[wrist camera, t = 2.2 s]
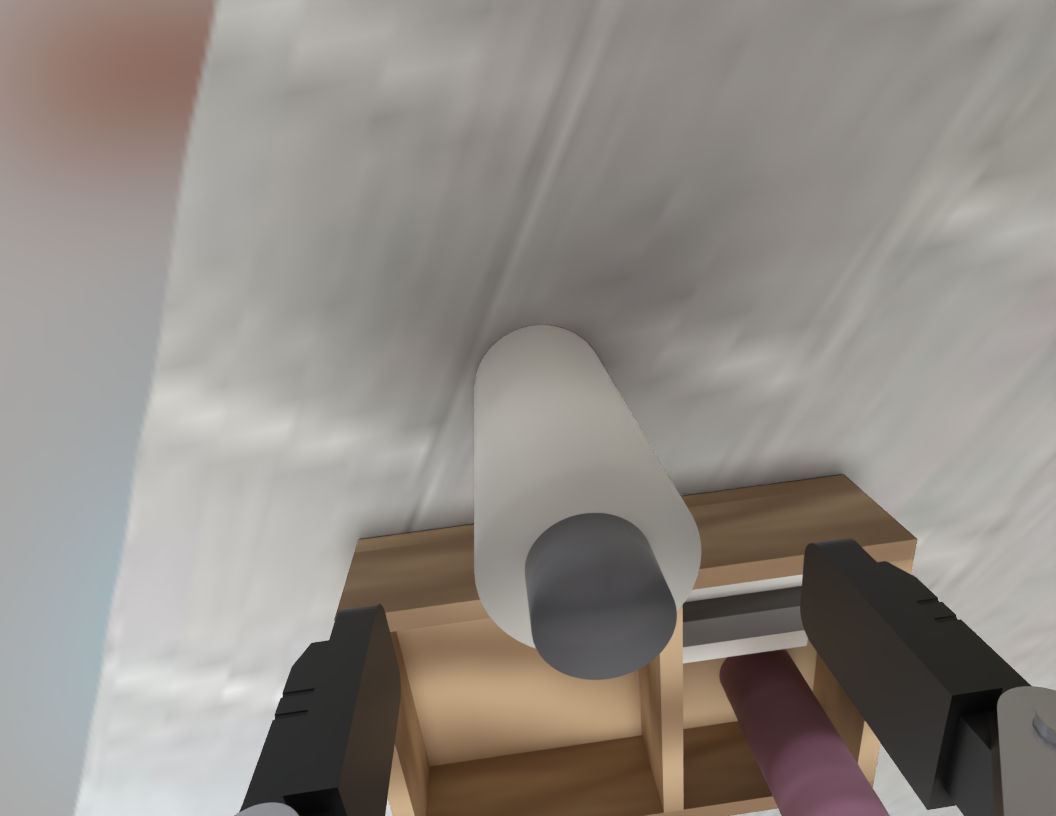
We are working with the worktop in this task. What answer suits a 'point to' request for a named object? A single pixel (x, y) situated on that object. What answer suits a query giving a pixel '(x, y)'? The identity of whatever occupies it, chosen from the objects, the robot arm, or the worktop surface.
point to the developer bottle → (573, 511)
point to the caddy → (635, 680)
